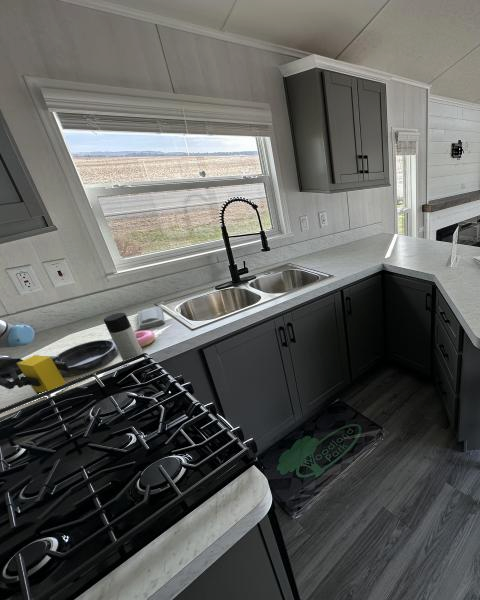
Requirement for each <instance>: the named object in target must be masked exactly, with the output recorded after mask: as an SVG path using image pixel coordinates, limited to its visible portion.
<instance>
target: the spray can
mask: <svg viewBox="0 0 480 600" xmlns="http://www.w3.org/2000/svg"><path fill="white" fill-rule="evenodd" d="M103 322H104V324H105V326H106V329H107V331H108V333H109V335H110V338H111V339H112V341H114V343H115V345H116V347H117V349H118V354H119V356H120V358H121V360H122V362H123V361H124V360H127V359H129V358H132V357H135V356H137V355H140V354H143V353H144V351H143V348H142V347H141V346H140V344H139V342H138V340H137V338H136V335H135V331H134V329H133V326H132V324H131V322H130V320H129V317H128V315H127V314H126V313H125V312H116V313H113V314H112V313H111V314H110V315H108V316H106V317H104V318H103Z"/></svg>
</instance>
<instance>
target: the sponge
mask: <svg viewBox="0 0 480 600" xmlns="http://www.w3.org/2000/svg"><path fill="white" fill-rule="evenodd" d="M46 356H47V355H40V354H34V355H32V356H30V357H28V358H25V359H22V360H23V361H21V362H19V363H17V365H18V366H19V368H20V369H21V371H22V372H23V373H22V374H23V376H24V377H31V378H37V379H38V381H39V382H40V384H41V385H40V386H39V387H38V386H32V385H30V386H31V388H32V389H33V391H34V392H35V394H36V395H37V394H39V393H42V392H45V391H48V390H51V389H54V388H56V387H59V386H61V385H64V384H67V383H66V381H65V379H64V376H61V374H60V372H59V371H58V369H57V367H56V366H55V364H54V362H53V361H52V359H51V357H46ZM63 391H64V390H62V392H63Z"/></svg>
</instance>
